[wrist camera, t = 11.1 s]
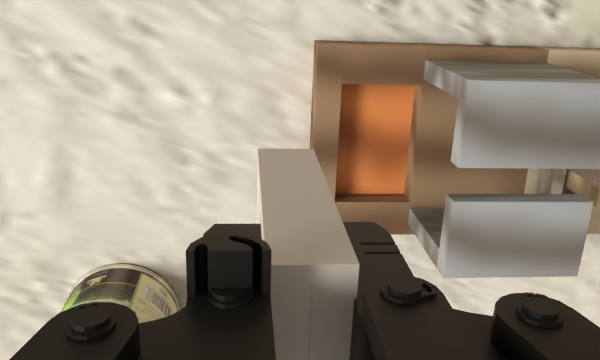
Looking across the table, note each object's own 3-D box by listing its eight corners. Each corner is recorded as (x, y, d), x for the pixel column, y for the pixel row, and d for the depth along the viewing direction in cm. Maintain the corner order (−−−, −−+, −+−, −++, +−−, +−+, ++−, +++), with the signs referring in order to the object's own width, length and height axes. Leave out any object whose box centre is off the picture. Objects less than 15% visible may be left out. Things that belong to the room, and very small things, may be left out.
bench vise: (314, 40, 46) (337, 60, 35) (629, 49, 49) (745, 70, 37) (306, 222, 51) (323, 292, 40) (591, 222, 54) (682, 286, 43)
